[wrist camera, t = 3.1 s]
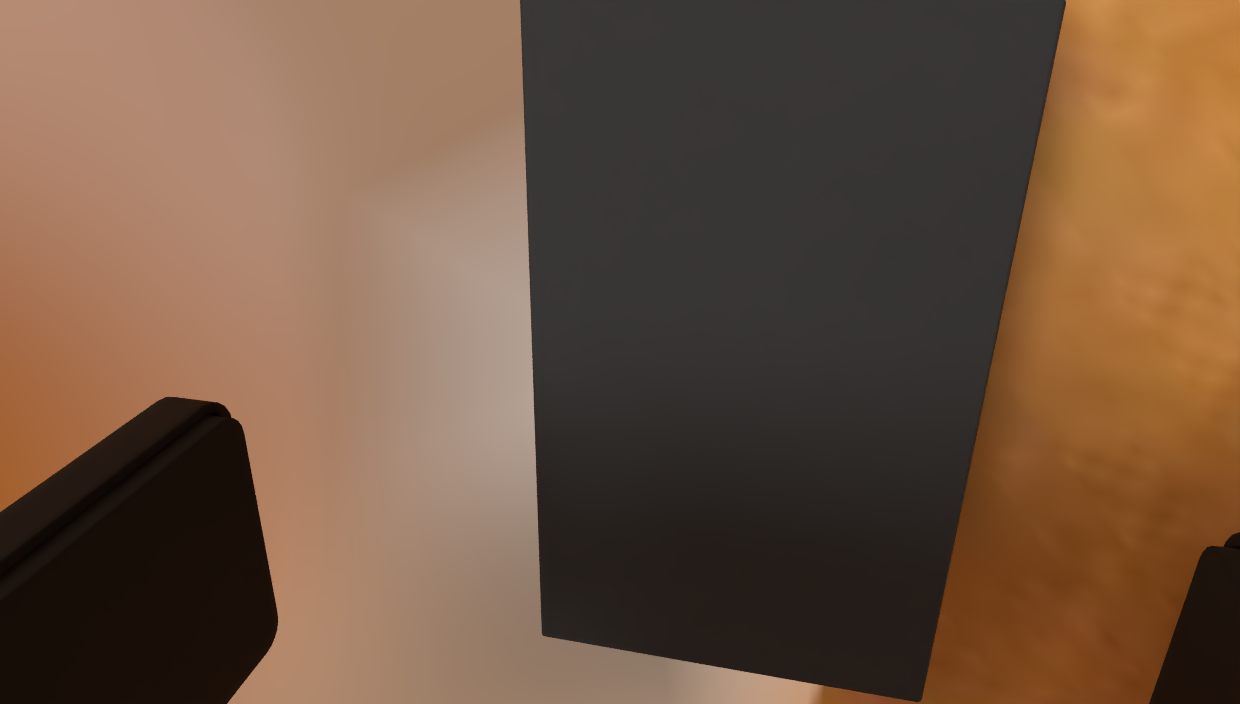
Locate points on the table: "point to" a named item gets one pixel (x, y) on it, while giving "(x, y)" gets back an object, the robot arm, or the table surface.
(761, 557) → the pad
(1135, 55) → the table surface
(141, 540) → the robot arm
